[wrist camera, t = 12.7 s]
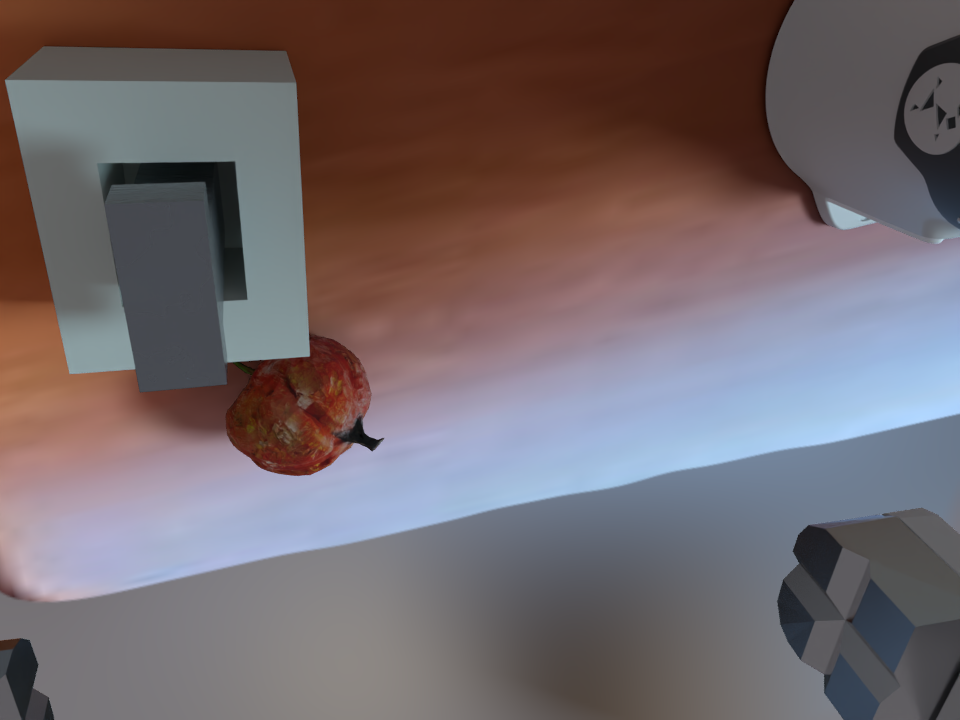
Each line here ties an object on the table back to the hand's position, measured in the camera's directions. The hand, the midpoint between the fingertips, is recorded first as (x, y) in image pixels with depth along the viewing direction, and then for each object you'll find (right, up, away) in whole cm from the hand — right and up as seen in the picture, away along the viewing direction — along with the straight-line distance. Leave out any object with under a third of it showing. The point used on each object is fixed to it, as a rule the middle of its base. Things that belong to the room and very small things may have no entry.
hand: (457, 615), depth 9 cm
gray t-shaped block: (-13, +11, +29) cm, 34 cm away
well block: (-14, +11, +30) cm, 35 cm away
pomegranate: (-10, +2, +37) cm, 38 cm away
